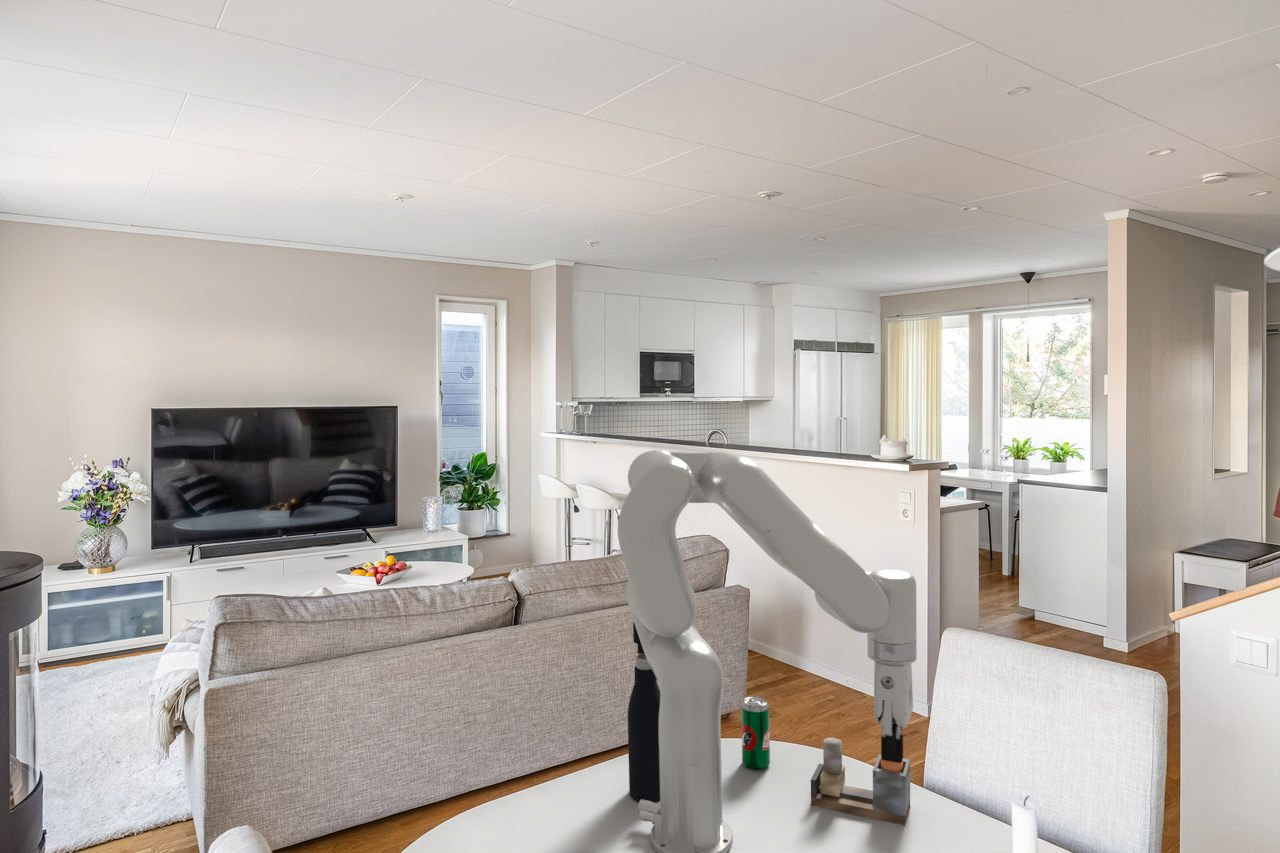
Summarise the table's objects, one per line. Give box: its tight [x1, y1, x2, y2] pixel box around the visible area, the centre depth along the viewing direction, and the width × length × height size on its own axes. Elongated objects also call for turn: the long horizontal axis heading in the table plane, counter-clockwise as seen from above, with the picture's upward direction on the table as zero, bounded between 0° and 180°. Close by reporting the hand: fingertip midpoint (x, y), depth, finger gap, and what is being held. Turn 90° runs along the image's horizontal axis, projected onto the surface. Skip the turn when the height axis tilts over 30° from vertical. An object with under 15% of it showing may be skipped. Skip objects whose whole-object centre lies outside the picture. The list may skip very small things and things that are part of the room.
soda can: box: [741, 696, 771, 771], centre depth 147 cm, size 5×5×12 cm
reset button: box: [881, 758, 904, 773], centre depth 130 cm, size 3×3×3 cm
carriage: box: [820, 737, 846, 797], centre depth 135 cm, size 3×5×8 cm, turn 155°
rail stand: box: [810, 753, 911, 827], centre depth 133 cm, size 15×6×8 cm, turn 65°
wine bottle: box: [627, 622, 660, 803], centre depth 138 cm, size 6×6×30 cm
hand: (892, 759), depth 130 cm, fingers closed
